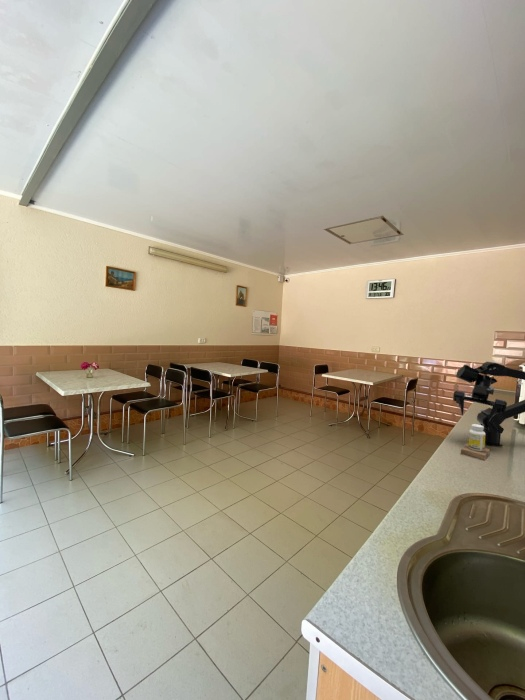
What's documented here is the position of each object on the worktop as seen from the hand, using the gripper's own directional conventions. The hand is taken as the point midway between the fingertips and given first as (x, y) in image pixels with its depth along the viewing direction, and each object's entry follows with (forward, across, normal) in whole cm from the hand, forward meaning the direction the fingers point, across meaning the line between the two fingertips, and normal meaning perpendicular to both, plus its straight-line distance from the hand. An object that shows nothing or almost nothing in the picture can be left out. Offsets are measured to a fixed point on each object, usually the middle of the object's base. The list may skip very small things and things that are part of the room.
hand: (474, 418), depth 127 cm
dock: (+14, +3, +4) cm, 15 cm away
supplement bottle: (+12, +3, +3) cm, 13 cm away
